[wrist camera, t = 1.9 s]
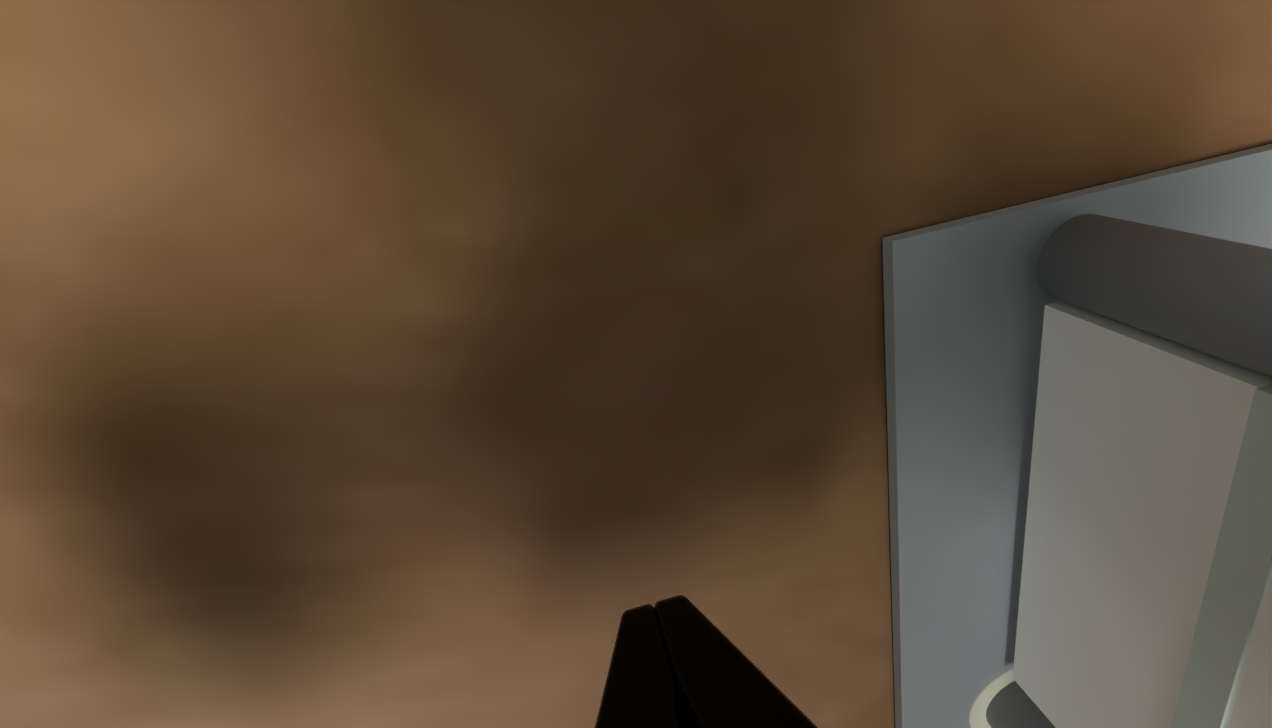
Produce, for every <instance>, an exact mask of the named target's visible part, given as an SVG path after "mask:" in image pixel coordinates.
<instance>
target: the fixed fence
mask: <svg viewBox="0 0 1272 728" xmlns="http://www.w3.org/2000/svg"><path fill="white" fill-rule="evenodd" d="M986 719H987V722H988V724H989V725H990V726H991V728H1055V726H1054V725H1053V724H1052V723H1051V722H1050V721H1049V719H1048V718H1047V717H1046V716H1045V715H1044V714H1043V712H1042V711H1041V710H1040V709H1039V708H1038V707H1037V706H1036V704H1035V703H1034V702H1033V701H1032V700H1031V699H1030V697H1029V696H1028V695H1027V694H1026V693H1025V692H1024V690H1023V689H1022V688H1021V687H1020V686H1019V685H1018V684H1017V682H1016V681H1013V682H1011V683H1010V684H1008V685H1007V686H1005V687H1004V688H1003V689H1001V690H1000V691H999V692H998V693H997V694H996V695H995V696H994V697H993V699H992V700H991V702H990V703H989V705H988V708H987V711H986Z"/></svg>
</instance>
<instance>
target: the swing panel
mask: <svg viewBox="0 0 1272 728" xmlns="http://www.w3.org/2000/svg"><path fill="white" fill-rule="evenodd" d="M1037 278H1038V282H1039V284H1040V287H1041V288H1042V289H1043V291H1044V292H1045V293H1046V294H1048V295H1049V296H1051V297H1053V298H1056V299H1059V300H1061V301H1058V302H1054V303H1051V304H1047V305H1045V308H1044V319H1043V331H1042V342H1041V354H1040V365H1039V377H1038V389H1037V400H1036V412H1035V423H1034V435H1033V446H1032V458H1031V470H1030V481H1029V493H1028V504H1027V516H1026V527H1025V539H1024V551H1023V562H1022V574H1021V585H1020V597H1019V608H1018V620H1017V632H1016V643H1015V655H1014V666H1013V679H1014V680H1015V681H1016V682H1017V684H1018V685H1019V686H1020V687H1021V688H1022V689H1023V690H1024V692H1025V693H1026V694H1027V695H1028V696H1029V697H1030V699H1031V700H1032V701H1033V702H1034V703H1035V704H1036V706H1037V707H1038V708H1039V709H1040V710H1041V711H1042V712H1043V714H1044V715H1045V716H1046V717H1047V718H1048V719H1049V721H1050V722H1051V723H1052V724H1053V725H1054V726H1055V728H1272V249H1270V248H1265V247H1260V246H1255V245H1250V244H1245V243H1240V242H1235V241H1230V240H1224V239H1219V238H1214V237H1209V236H1204V235H1199V234H1194V233H1189V232H1184V231H1179V230H1173V229H1168V228H1163V227H1158V226H1153V225H1148V224H1143V223H1138V222H1133V221H1128V220H1122V219H1117V218H1112V217H1107V216H1102V215H1097V214H1082V215H1078V216H1075V217H1073V218H1071V219H1069V220H1067V221H1066V222H1064V223H1063V224H1061V225H1060V226H1059V227H1058V228H1057V229H1056V230H1055V231H1054V232H1053V233H1052V234H1051V235H1050V237H1049V238H1048V239H1047V241H1046V242H1045V244H1044V246H1043V248H1042V250H1041V253H1040V255H1039V259H1038V263H1037Z"/></svg>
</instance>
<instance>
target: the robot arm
mask: <svg viewBox="0 0 1272 728" xmlns="http://www.w3.org/2000/svg"><path fill="white" fill-rule="evenodd" d="M595 728H817V727H816V726H815V725H814V724H813V723H812V722H811V721H810V720H809V719H808V718H807V717H806V716H805V715H804V714H803V713H802V712H801V711H800V710H799V709H798V708H797V707H796V706H795V705H794V704H793V703H792V702H791V701H790V700H789V699H788V698H787V697H786V696H785V695H784V694H783V693H782V692H781V691H780V690H779V689H778V688H777V687H776V686H775V685H774V684H773V683H772V682H771V681H770V680H769V679H768V678H767V677H766V676H765V675H764V674H763V673H762V672H761V671H760V670H759V669H758V668H757V667H756V666H755V665H754V664H753V663H752V662H751V661H750V660H749V659H748V658H747V657H746V656H745V655H744V654H743V653H742V652H741V651H740V650H739V649H738V648H737V647H736V646H735V645H734V644H733V643H732V642H731V641H730V640H729V639H728V638H727V637H726V636H724V635H723V634H722V633H721V632H720V631H719V630H718V629H717V628H716V627H715V626H714V625H713V624H712V623H711V622H710V621H709V620H708V619H707V618H706V617H705V616H704V615H703V614H702V613H701V612H700V611H699V610H698V609H697V608H696V607H695V606H694V605H693V604H692V603H691V602H690V601H689V600H688V599H687V598H686V597H684V596H682V595H679V596H675V597H671V598H668V599H664V600H661V601H658V602H657V603H656V604H655V609H654V607H653V606H652V605H650V604H647V605H643V606H640V607H636V608H633V609H629V610H626V611H625V612H624V613H623V615H622V618H621V622H620V626H619V630H618V634H617V638H616V642H615V646H614V651H613V655H612V659H611V663H610V667H609V671H608V676H607V680H606V684H605V688H604V692H603V696H602V700H601V705H600V709H599V713H598V717H597V721H596V725H595Z"/></svg>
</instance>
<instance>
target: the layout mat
mask: <svg viewBox="0 0 1272 728" xmlns="http://www.w3.org/2000/svg"><path fill="white" fill-rule="evenodd" d="M1082 214H1097V215H1102V216H1107V217H1112V218H1117V219H1122V220H1128V221H1133V222H1138V223H1143V224H1148V225H1153V226H1158V227H1163V228H1168V229H1173V230H1179V231H1184V232H1189V233H1194V234H1199V235H1204V236H1209V237H1214V238H1219V239H1224V240H1230V241H1235V242H1240V243H1245V244H1250V245H1255V246H1260V247H1265V248H1270V249H1272V144H1268V145H1264V146H1260V147H1256V148H1251V149H1247V150H1243V151H1239V152H1235V153H1231V154H1227V155H1222V156H1218V157H1214V158H1210V159H1206V160H1202V161H1198V162H1193V163H1189V164H1185V165H1181V166H1177V167H1173V168H1169V169H1164V170H1160V171H1156V172H1152V173H1148V174H1144V175H1140V176H1136V177H1131V178H1127V179H1123V180H1119V181H1115V182H1111V183H1107V184H1102V185H1098V186H1094V187H1090V188H1086V189H1082V190H1078V191H1073V192H1069V193H1065V194H1061V195H1057V196H1053V197H1049V198H1044V199H1040V200H1036V201H1032V202H1028V203H1024V204H1020V205H1016V206H1011V207H1007V208H1003V209H999V210H995V211H991V212H987V213H982V214H978V215H974V216H970V217H966V218H962V219H958V220H953V221H949V222H945V223H941V224H937V225H933V226H929V227H924V228H920V229H916V230H912V231H908V232H904V233H900V234H896V235H891V236H887V237H883V238H882V244H883V282H884V319H885V357H886V395H887V432H888V470H889V507H890V545H891V583H892V620H893V658H894V695H895V728H991V726H990V725H989V724H988V722H987V719H986V711H987V708H988V705H989V703H990V702H991V700H992V699H993V697H994V696H995V695H996V694H997V693H998V692H999V691H1000V690H1001V689H1003V688H1004V687H1005V686H1007V685H1008V684H1010V683H1011V682H1013V681H1015V680H1014V679H1013V666H1014V655H1015V643H1016V632H1017V620H1018V608H1019V597H1020V585H1021V574H1022V562H1023V551H1024V539H1025V527H1026V516H1027V504H1028V493H1029V481H1030V470H1031V458H1032V446H1033V435H1034V423H1035V412H1036V400H1037V389H1038V377H1039V365H1040V354H1041V342H1042V331H1043V319H1044V308H1045V305H1047V304H1051V303H1054V302H1058V301H1061V300H1059V299H1056V298H1053V297H1051V296H1049V295H1048V294H1046V293H1045V292H1044V291H1043V289H1042V288H1041V287H1040V284H1039V282H1038V278H1037V263H1038V259H1039V255H1040V253H1041V250H1042V248H1043V246H1044V244H1045V242H1046V241H1047V239H1048V238H1049V237H1050V235H1051V234H1052V233H1053V232H1054V231H1055V230H1056V229H1057V228H1058V227H1059V226H1060V225H1061V224H1063V223H1064V222H1066V221H1067V220H1069V219H1071V218H1073V217H1075V216H1078V215H1082Z"/></svg>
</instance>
